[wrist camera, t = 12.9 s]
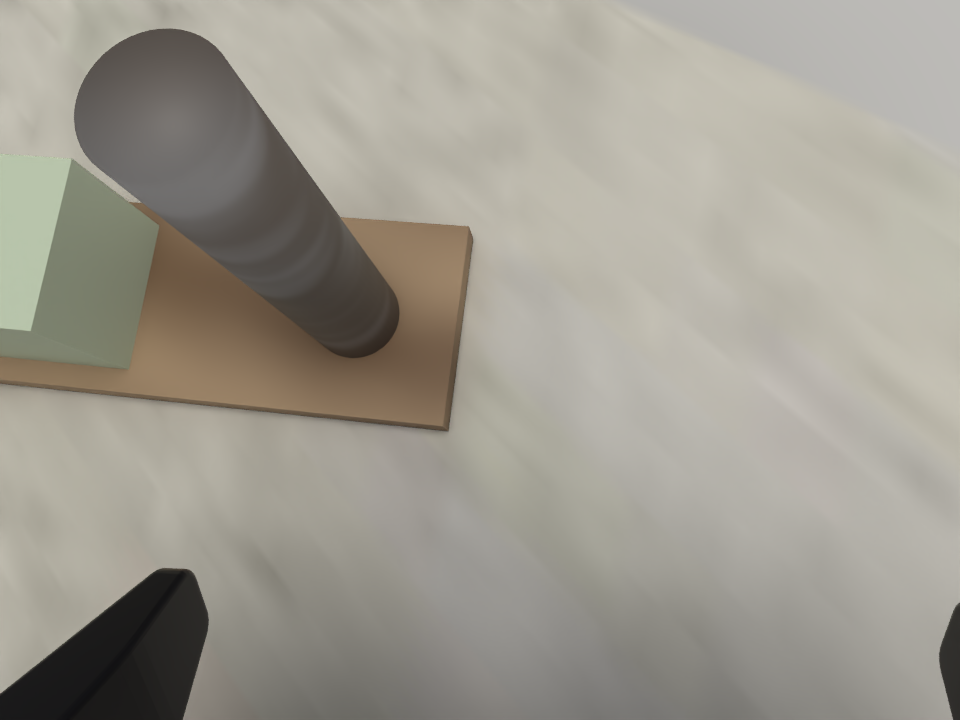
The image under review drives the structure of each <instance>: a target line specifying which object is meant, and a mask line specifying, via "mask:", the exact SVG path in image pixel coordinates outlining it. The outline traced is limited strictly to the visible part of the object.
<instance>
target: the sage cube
mask: <svg viewBox="0 0 960 720" xmlns="http://www.w3.org/2000/svg"><path fill="white" fill-rule="evenodd" d="M158 230H159V225H158V224H157V223H155V222H154V221H153V220H151V219H150V218H149V217H147V216H146V215H145V214H143V213H142V212H141V211H140V210H138V209H137V208H136V207H134V206H133V205H132V204H130V203H129V202H128V201H127V200H125V199H124V198H123V197H121V196H120V195H119V194H117V193H116V192H115V191H113V190H112V189H111V188H110V187H108V186H107V185H106V184H104V183H103V182H102V181H100V180H99V179H98V178H96V177H95V176H94V175H93V174H91V173H90V172H89V171H87V170H86V169H85V168H83V167H82V166H81V165H80V164H78V163H77V162H76V161H74V160H73V159H70V158H55V157H39V156H24V155H8V154H0V357H9V358H19V359H29V360H39V361H49V362H58V363H68V364H78V365H88V366H98V367H108V368H118V369H127V370H129V367H130V362H131V357H132V353H133V348H134V343H135V338H136V334H137V329H138V324H139V320H140V315H141V310H142V305H143V301H144V296H145V291H146V287H147V282H148V277H149V272H150V268H151V263H152V258H153V254H154V249H155V244H156V239H157V235H158Z"/></svg>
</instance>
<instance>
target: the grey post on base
mask: <svg viewBox="0 0 960 720" xmlns="http://www.w3.org/2000/svg"><path fill="white" fill-rule="evenodd" d="M74 123H75V131H76V135H77V139H78V141H79V143H80V146H81V148H82V150H83V151H84V153H85V155H86V156H87V157H88V158H89V159H90V161H91V162H92V163H93V164H94V165H95V166H97V167H98V168H99V169H100V170H101V171H103V172H104V173H105V174H106V175H108V176H109V177H110V178H112V179H113V180H114V181H115V182H117V183H118V184H119V185H120V186H122V187H123V188H124V189H125V190H127V191H128V192H129V193H131V194H132V195H133V196H134V197H136V198H137V199H138V200H139V201H141V202H142V203H133V202H129V203H130V204H132V205H133V206H134V207H136V208H137V209H138V210H140V211H141V212H142V213H143V214H145V215H146V216H147V217H149V218H150V219H151V220H153V221H154V222H155V223H157V224H158V225H159V230H158V235H157V239H156V244H155V249H154V254H153V258H152V263H151V268H150V272H149V277H148V282H147V287H146V291H145V296H144V301H143V305H142V310H141V315H140V320H139V324H138V329H137V334H136V338H135V343H134V348H133V353H132V357H131V362H130V367H129V370H127V369H118V368H108V367H98V366H88V365H78V364H68V363H58V362H49V361H39V360H29V359H19V358H9V357H0V383H2V384H11V385H21V386H30V387H39V388H49V389H58V390H68V391H77V392H86V393H96V394H105V395H115V396H124V397H133V398H143V399H152V400H162V401H171V402H180V403H190V404H199V405H209V406H218V407H227V408H237V409H246V410H256V411H265V412H275V413H284V414H293V415H303V416H312V417H322V418H331V419H340V420H350V421H359V422H369V423H378V424H387V425H397V426H406V427H416V428H425V429H434V430H444V431H448V429H449V422H450V414H451V406H452V398H453V391H454V383H455V375H456V367H457V360H458V352H459V344H460V336H461V328H462V321H463V313H464V305H465V297H466V290H467V282H468V274H469V266H470V259H471V251H472V243H473V237H472V234H471V231H470V228H469V227H468V226H454V225H440V224H426V223H412V222H398V221H384V220H370V219H356V218H342V217H340V216H339V215H338V214H337V212H336V211H335V210H334V208H333V207H332V205H331V204H330V203H329V201H328V200H327V198H326V197H325V196H324V194H323V193H322V192H321V190H320V189H319V187H318V186H317V185H316V183H315V182H314V180H313V179H312V178H311V176H310V175H309V174H308V172H307V171H306V169H305V168H304V167H303V165H302V164H301V162H300V161H299V160H298V158H297V157H296V156H295V154H294V153H293V151H292V150H291V149H290V147H289V146H288V144H287V143H286V142H285V140H284V139H283V138H282V136H281V135H280V133H279V132H278V131H277V129H276V128H275V126H274V125H273V124H272V122H271V121H270V120H269V118H268V117H267V115H266V114H265V113H264V111H263V110H262V108H261V107H260V106H259V104H258V103H257V102H256V100H255V99H254V97H253V96H252V95H251V93H250V92H249V90H248V89H247V88H246V86H245V85H244V84H243V82H242V81H241V79H240V78H239V77H238V75H237V74H236V72H235V71H234V70H233V68H232V67H231V66H230V64H229V63H228V61H227V60H226V59H225V57H224V56H223V54H222V53H221V52H220V51H219V50H218V49H217V48H216V47H215V46H214V45H213V44H212V43H210V42H209V41H208V40H206V39H204V38H203V37H201V36H199V35H197V34H194V33H191V32H188V31H184V30H179V29H156V30H149V31H146V32H142V33H139V34H136V35H134V36H131V37H129V38H127V39H125V40H123V41H121V42H119V43H118V44H116V45H115V46H113V47H112V48H111V49H109V50H108V51H107V52H106V53H105V54H103V55H102V56H101V58H100V59H99V60H98V61H97V62H96V63H95V64H94V65H93V67H92V68H91V69H90V71H89V72H88V74H87V75H86V77H85V79H84V81H83V83H82V85H81V87H80V89H79V93H78V96H77V99H76V104H75V111H74Z"/></svg>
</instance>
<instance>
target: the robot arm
mask: <svg viewBox="0 0 960 720" xmlns="http://www.w3.org/2000/svg"><path fill="white" fill-rule="evenodd" d="M208 623H209V619H208V612H207V609H206V606H205V603H204V600H203V597H202V594H201V591H200V588H199V585H198V582H197V579H196V577H195V575H194V573H193V572H192V571H190V570H188V569H172V568H162V569H159V570H156V571H155V572H153V573H152V574H150V575H149V576H148V577H147V578H145V579H144V580H143V581H142V582H140V583H139V584H138V585H137V586H135V587H134V588H133V589H132V590H130V591H129V592H128V593H127V594H125V595H124V596H123V597H121V598H120V599H119V600H118V601H116V602H115V603H114V604H113V605H111V606H110V607H109V608H108V609H106V610H105V611H104V612H103V613H101V614H100V615H99V616H98V617H96V618H95V619H94V620H93V621H91V622H90V623H89V624H87V625H86V626H85V627H84V628H82V629H81V630H80V631H79V632H77V633H76V634H75V635H74V636H72V637H71V638H70V639H69V640H67V641H66V642H65V643H64V644H62V645H61V646H60V647H59V648H57V649H56V650H55V651H53V652H52V653H51V654H50V655H48V656H47V657H46V658H45V659H43V660H42V661H41V662H40V663H38V664H37V665H36V666H35V667H33V668H32V669H31V670H30V671H28V672H27V673H26V674H25V675H23V676H22V677H21V678H19V679H18V680H17V681H16V682H14V683H13V684H12V685H11V686H9V687H8V688H7V689H6V690H4V691H3V692H2V693H1V694H0V720H183V717H184V713H185V710H186V706H187V703H188V699H189V696H190V692H191V688H192V685H193V681H194V678H195V674H196V671H197V667H198V664H199V660H200V657H201V653H202V649H203V646H204V642H205V639H206V635H207V631H208ZM939 662H940V669H941V673H942V677H943V681H944V685H945V689H946V693H947V697H948V701H949V705H950V709H951V713H952V717H953V720H960V603H958V604H957V605H956V607H955V609H954V611H953V614H952V616H951V619H950V622H949V625H948V627H947V630H946V633H945V636H944V638H943V641H942V644H941V647H940V653H939Z"/></svg>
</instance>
